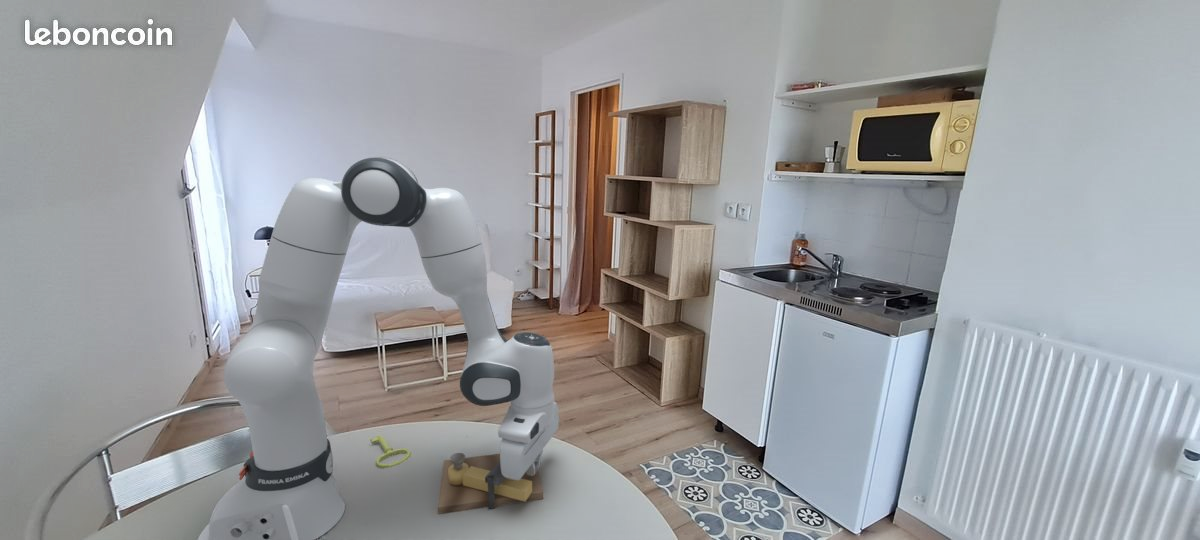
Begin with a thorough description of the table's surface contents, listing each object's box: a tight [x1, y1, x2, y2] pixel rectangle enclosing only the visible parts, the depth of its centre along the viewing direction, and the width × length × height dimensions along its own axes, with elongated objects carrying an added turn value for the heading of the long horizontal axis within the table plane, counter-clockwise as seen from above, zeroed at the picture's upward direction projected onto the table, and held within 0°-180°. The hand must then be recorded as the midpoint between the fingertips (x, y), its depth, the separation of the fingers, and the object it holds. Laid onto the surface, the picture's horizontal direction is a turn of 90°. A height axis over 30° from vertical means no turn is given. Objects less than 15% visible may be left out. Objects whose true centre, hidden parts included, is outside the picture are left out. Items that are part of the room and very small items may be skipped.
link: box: [448, 463, 532, 502], centre depth 95 cm, size 18×4×2 cm, turn 72°
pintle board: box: [437, 452, 544, 515], centre depth 98 cm, size 20×16×7 cm
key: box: [370, 434, 412, 469], centre depth 108 cm, size 7×12×2 cm, turn 60°
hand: (533, 471), depth 98 cm, fingers closed
